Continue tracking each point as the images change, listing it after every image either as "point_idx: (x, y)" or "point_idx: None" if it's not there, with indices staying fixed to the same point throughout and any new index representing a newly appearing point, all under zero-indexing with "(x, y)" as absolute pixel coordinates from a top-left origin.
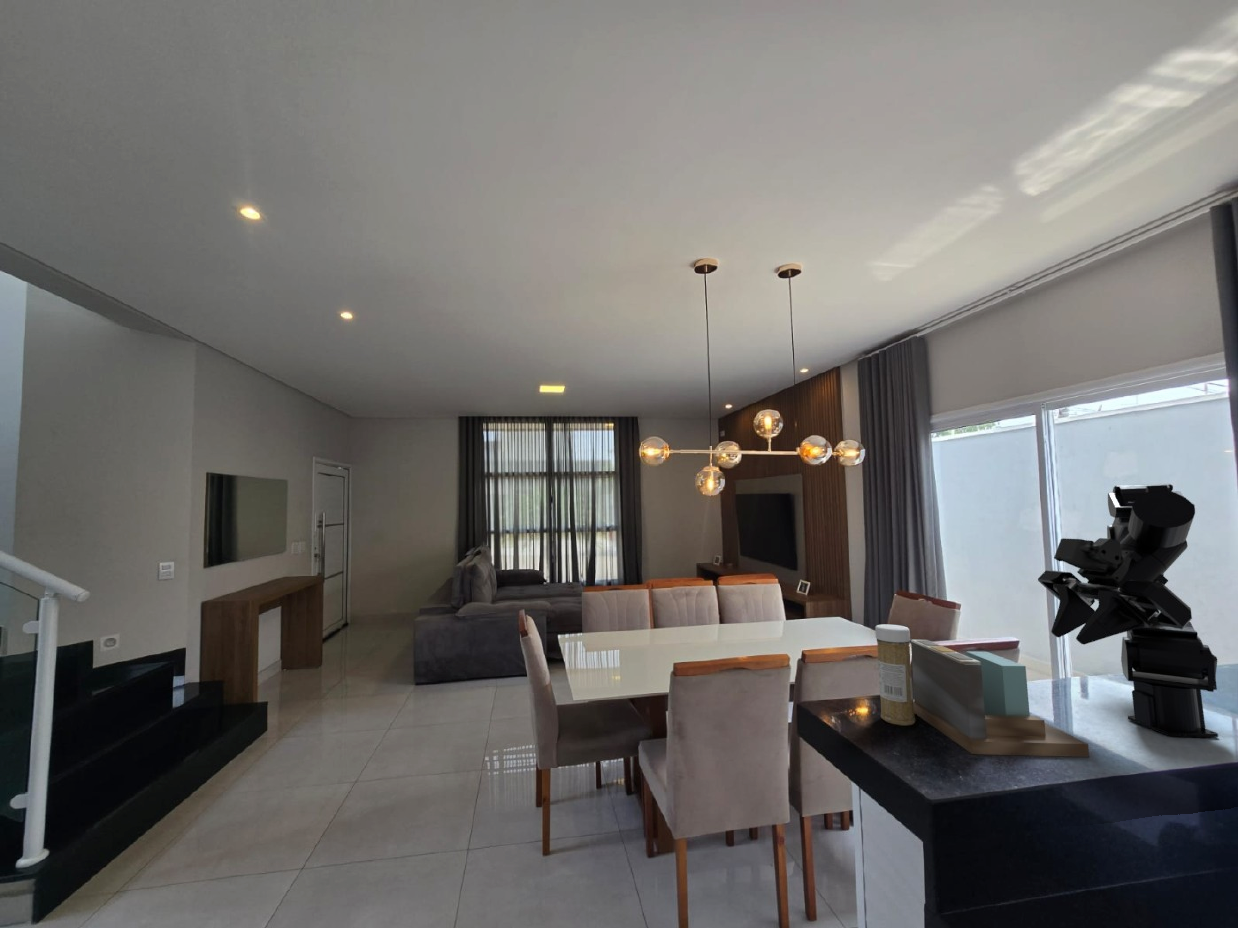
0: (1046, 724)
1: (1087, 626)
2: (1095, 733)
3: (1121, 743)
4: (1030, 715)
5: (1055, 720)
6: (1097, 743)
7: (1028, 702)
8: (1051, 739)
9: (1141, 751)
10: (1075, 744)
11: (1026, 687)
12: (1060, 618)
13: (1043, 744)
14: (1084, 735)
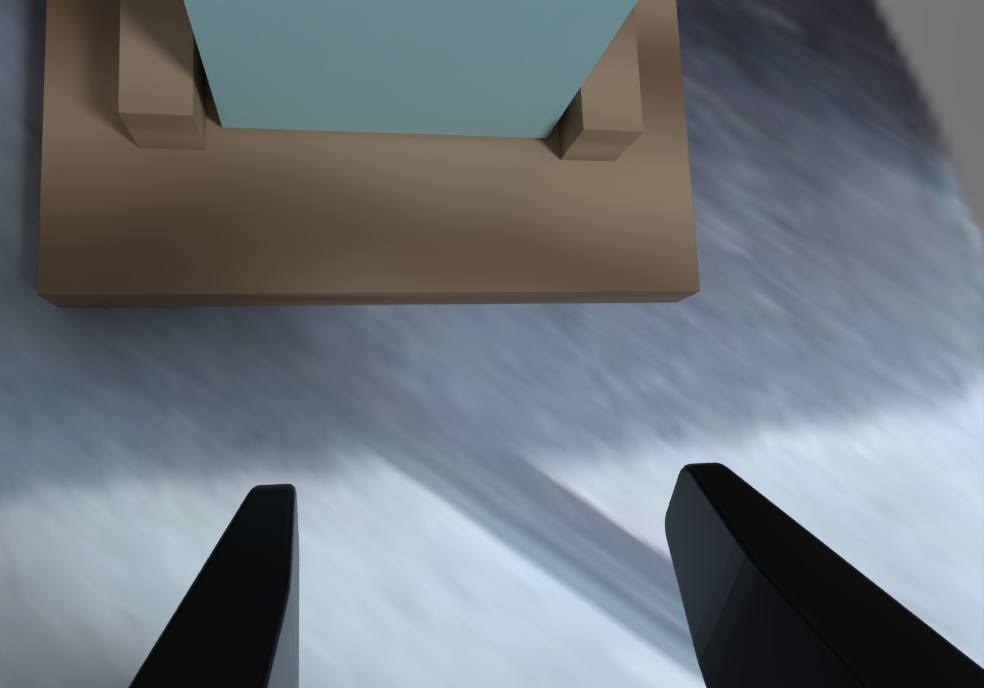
0: (326, 280)
1: (181, 645)
2: (387, 580)
3: None
4: (464, 289)
5: (565, 498)
6: (243, 483)
7: (204, 61)
8: (96, 147)
9: (144, 639)
10: (39, 229)
11: (187, 3)
12: (813, 621)
13: (46, 73)
14: (353, 497)
